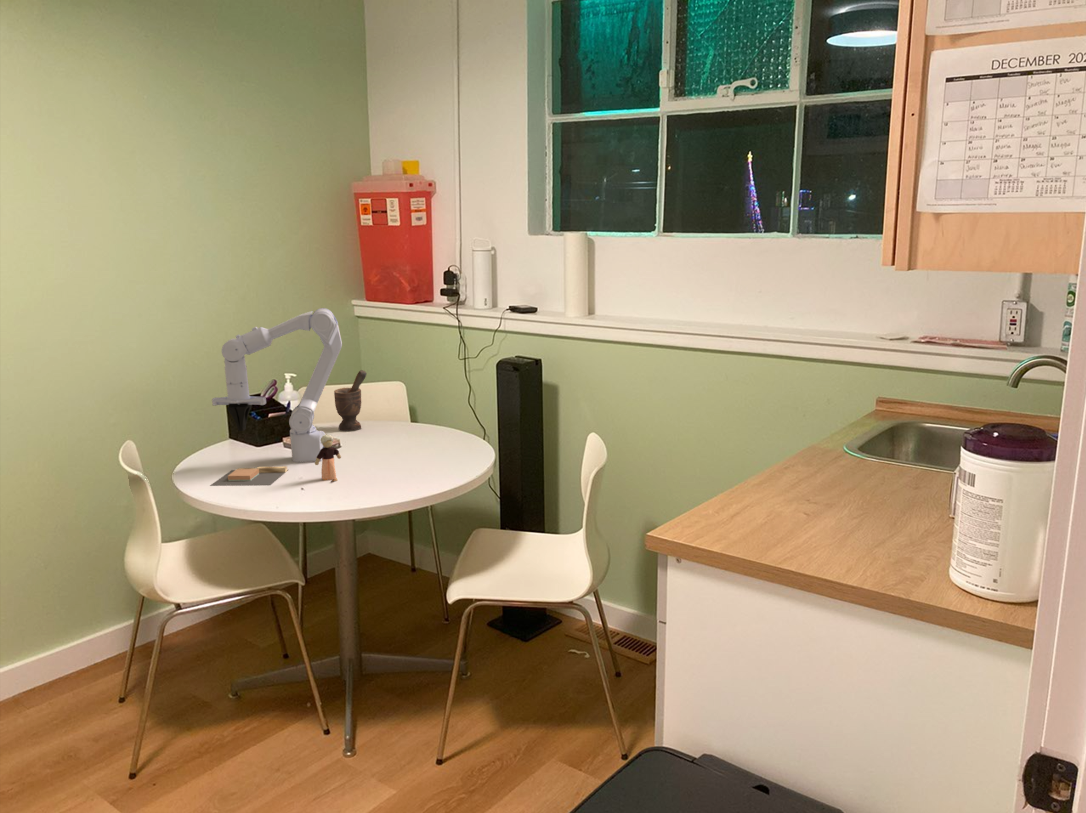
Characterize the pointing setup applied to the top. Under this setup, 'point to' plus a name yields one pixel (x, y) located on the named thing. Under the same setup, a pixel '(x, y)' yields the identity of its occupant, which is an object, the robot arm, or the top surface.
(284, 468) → the light wooden plank
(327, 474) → the grandmother figurine
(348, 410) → the mortar and pestle
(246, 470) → the tile
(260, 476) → the mat
